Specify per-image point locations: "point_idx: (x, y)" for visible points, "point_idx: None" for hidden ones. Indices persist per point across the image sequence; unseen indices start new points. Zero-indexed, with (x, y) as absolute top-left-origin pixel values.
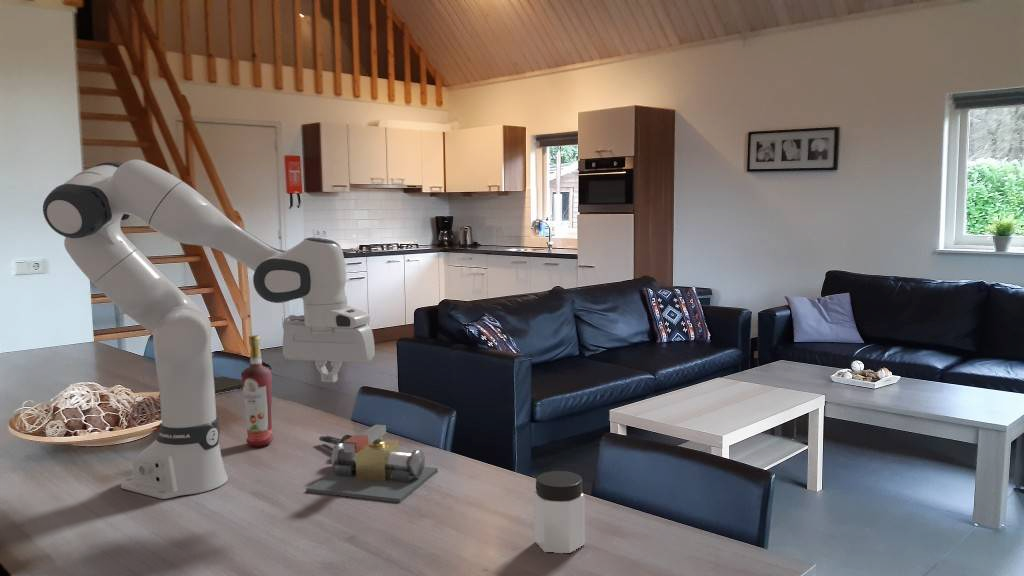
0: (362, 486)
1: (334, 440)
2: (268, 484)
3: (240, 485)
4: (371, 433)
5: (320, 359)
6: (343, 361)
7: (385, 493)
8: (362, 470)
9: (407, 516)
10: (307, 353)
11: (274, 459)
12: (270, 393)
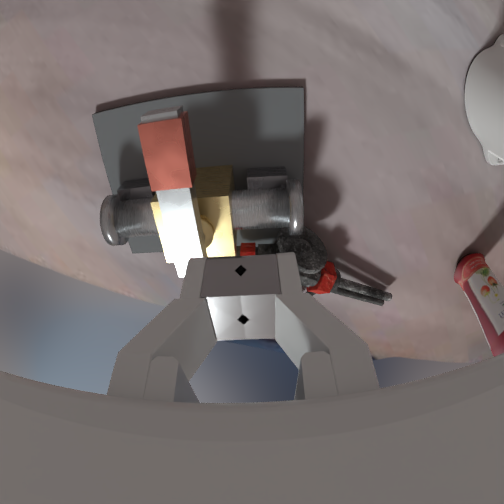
0: (193, 133)
1: (359, 288)
2: (397, 108)
3: (439, 97)
4: (163, 214)
5: (287, 412)
6: (16, 376)
7: (129, 122)
8: (215, 173)
9: (55, 76)
10: (481, 434)
11: (434, 219)
12: (486, 330)
